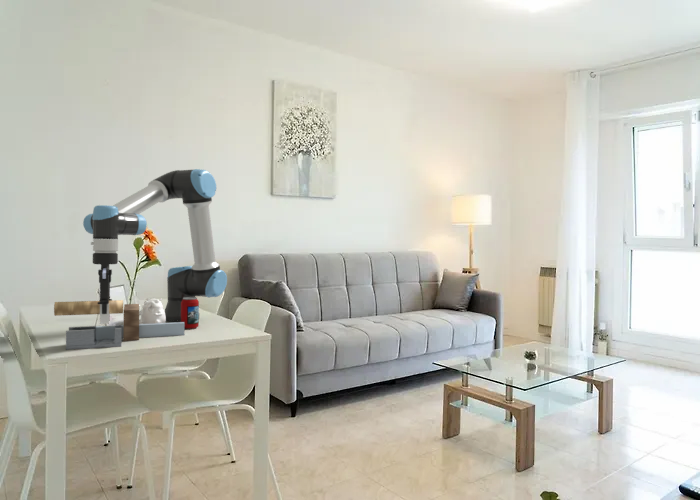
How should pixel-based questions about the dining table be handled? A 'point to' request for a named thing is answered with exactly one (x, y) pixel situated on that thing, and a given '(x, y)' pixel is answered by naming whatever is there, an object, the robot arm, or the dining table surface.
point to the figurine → (152, 312)
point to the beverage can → (190, 312)
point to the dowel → (86, 307)
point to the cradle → (90, 338)
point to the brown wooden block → (131, 322)
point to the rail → (144, 330)
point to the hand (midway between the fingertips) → (104, 322)
